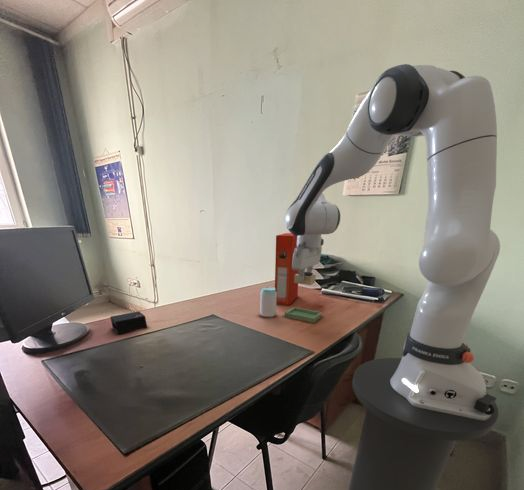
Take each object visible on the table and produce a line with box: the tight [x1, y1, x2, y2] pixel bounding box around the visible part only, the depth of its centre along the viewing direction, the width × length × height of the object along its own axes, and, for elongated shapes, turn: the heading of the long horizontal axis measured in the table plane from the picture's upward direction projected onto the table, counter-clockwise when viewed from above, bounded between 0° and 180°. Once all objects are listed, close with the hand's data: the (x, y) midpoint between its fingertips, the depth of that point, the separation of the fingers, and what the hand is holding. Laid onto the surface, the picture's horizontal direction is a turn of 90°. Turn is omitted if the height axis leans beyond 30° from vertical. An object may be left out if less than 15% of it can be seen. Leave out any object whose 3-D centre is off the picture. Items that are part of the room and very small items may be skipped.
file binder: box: [274, 232, 299, 306], centre depth 141 cm, size 8×17×32 cm, turn 161°
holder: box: [284, 306, 323, 324], centre depth 125 cm, size 14×10×2 cm
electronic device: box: [110, 310, 148, 335], centre depth 109 cm, size 8×11×5 cm
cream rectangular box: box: [294, 271, 317, 286], centre depth 113 cm, size 7×5×4 cm
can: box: [259, 286, 277, 318], centre depth 124 cm, size 7×7×12 cm
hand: (305, 278), depth 113 cm, fingers closed on cream rectangular box, 5 cm apart
